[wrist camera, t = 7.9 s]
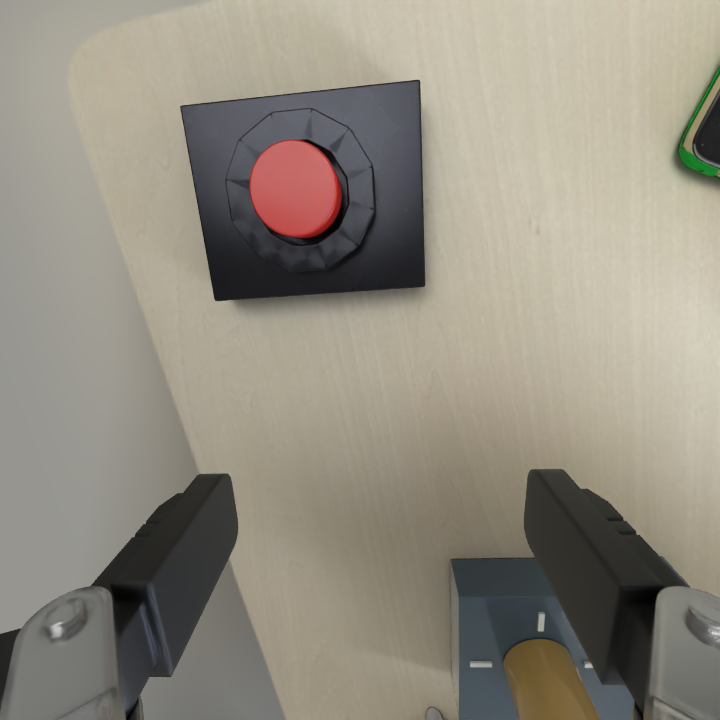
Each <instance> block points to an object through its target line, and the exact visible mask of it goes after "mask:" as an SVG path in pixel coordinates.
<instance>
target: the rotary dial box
mask: <svg viewBox="0 0 720 720" xmlns="http://www.w3.org/2000/svg"><path fill="white" fill-rule="evenodd" d="M659 557H660V558H661V559H662V560H663V561H664V562H665V563H666V564H667V565H668V566H669V567H670V568H671V569H672V570H673V572H674V573H675V574H676V575H677V576H678V577H679V578H680V579H681V580H682V581H683V582H684V583H685V584H686V585H687V586H688V587H690V586H689V585H688V584H687V583H686V581H685V580H684V579H683V578H682V577H681V576H680V575H679V574H678V573H677V572H676V571H675V570H674V568H673V567H672V566H671V565H670V564H669V563H668V562H667V561H666V560H665V559H664V558H663V557H662V556H659ZM690 588H691V587H690ZM531 639H548V640H552V641H555V642H557V643H560V644H561V645H563V646H564V647H565V648H566V649H567V650H568V651H569V652H570V654H571V656H572V658H573V660H574V662H575V664H576V666H577V668H578V670H579V673H580V675H581V677H582V679H583V681H584V683H585V685H586V687H587V689H588V692H589V694H590V696H591V698H592V700H593V702H594V704H595V706H596V709H597V711H598V713H599V715H600V717H601V719H602V720H631V713H632V708H633V703H634V699H633V697H632V695H631V693H630V692H629V690H628V688H627V686H626V685H602V684H601V682H600V680H599V678H598V676H597V674H596V672H595V670H594V668H593V666H592V664H591V663H590V661H589V659H588V657H587V655H586V653H585V651H584V649H583V647H582V645H581V644H580V642H579V640H578V638H577V636H576V634H575V632H574V630H573V628H572V626H571V625H570V623H569V621H568V619H567V617H566V615H565V613H564V611H563V609H562V607H561V605H560V604H559V602H558V600H557V598H556V596H555V594H554V592H553V590H552V588H551V586H550V585H549V583H548V581H547V579H546V577H545V575H544V573H543V571H542V569H541V567H540V565H539V564H538V562H537V560H536V558H519V559H453V560H451V675H452V681H453V687H454V693H455V699H456V705H457V711H458V717H459V720H518V718H517V714H516V711H515V707H514V704H513V701H512V697H511V694H510V690H509V687H508V683H507V680H506V677H505V673H504V670H503V661H504V658H505V656H506V654H507V653H508V651H509V650H510V649H511V648H512V647H514V646H515V645H517V644H519V643H521V642H523V641H527V640H531Z"/></svg>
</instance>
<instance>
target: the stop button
mask: <svg viewBox="0 0 720 720" xmlns="http://www.w3.org/2000/svg"><path fill="white" fill-rule="evenodd" d="M249 188H250V196H251V201H252V204H253V207H254V209H255V211H256V213H257V214H258V216H259V217H260V219H261V220H262V221H263V222H264V223H265V224H266V225H267V226H268V227H269V228H271V229H272V230H274V231H275V232H277V233H279V234H282V235H285V236H290V237H295V238H311V237H314V236H317V235H319V234H321V233H323V232H324V231H326V230H327V229H328V228H329V227H330V226H331V225H332V224H333V222H334V221H335V219H336V218H337V216H338V213H339V211H340V207H341V202H342V190H341V184H340V181H339V178H338V176H337V174H336V172H335V170H334V168H333V166H332V165H331V163H330V161H329V160H328V158H327V157H326V156H325V155H324V154H323V153H322V152H321V151H320V150H319V149H318V148H316V147H315V146H313V145H312V144H309V143H307V142H304V141H301V140H283V141H280V142H277V143H275V144H273V145H271V146H269V147H268V148H267V149H265V150H264V151H263V152H262V153H261V155H260V156H259V157H258V159H257V160H256V162H255V164H254V166H253V168H252V172H251V176H250V185H249Z"/></svg>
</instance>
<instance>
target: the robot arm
mask: <svg viewBox="0 0 720 720" xmlns="http://www.w3.org/2000/svg"><path fill="white" fill-rule="evenodd" d="M524 529H525V535H526V538H527V542H528V544H529V546H530V548H531V550H532V552H533V554H534V556H535V558H536V560H537V562H538V564H539V565H540V567H541V569H542V571H543V573H544V575H545V577H546V579H547V581H548V583H549V585H550V586H551V588H552V590H553V592H554V594H555V596H556V598H557V600H558V602H559V604H560V605H561V607H562V609H563V611H564V613H565V615H566V617H567V619H568V621H569V623H570V625H571V626H572V628H573V630H574V632H575V634H576V636H577V638H578V640H579V642H580V644H581V645H582V647H583V649H584V651H585V653H586V655H587V657H588V659H589V661H590V663H591V664H592V666H593V668H594V670H595V672H596V674H597V676H598V678H599V680H600V682H601V684H602V685H626V686H627V688H628V690H629V692H630V693H631V695H632V697H633V699H634V703H633V708H632V713H631V720H720V598H718V597H716V596H714V595H712V594H709V593H707V592H704V591H701V590H698V589H694V588H690V587H688V586H687V585H686V584H685V583H684V582H683V581H682V580H681V579H680V578H679V577H678V576H677V575H676V574H675V573H674V572H673V570H672V569H671V568H670V567H669V566H668V565H667V564H666V563H665V562H664V561H663V560H662V559H661V558H660V557H659V556H658V554H657V553H656V552H655V551H654V550H653V549H652V548H651V547H650V546H649V545H648V544H647V543H646V542H645V541H644V540H643V538H642V537H641V536H640V535H637V534H636V531H635V530H634V529H633V528H632V527H631V526H630V525H629V524H628V522H627V521H624V520H623V517H622V516H621V515H620V514H619V513H618V512H617V511H616V510H615V509H614V507H613V506H612V505H611V504H610V503H609V502H608V501H606V500H604V499H603V498H601V497H600V496H598V495H596V494H595V493H593V492H592V491H590V490H588V489H580V488H579V487H578V486H577V484H576V483H575V482H574V481H573V480H572V479H571V478H570V476H569V475H568V474H567V473H566V472H565V471H564V470H562V469H532V470H530V471H529V474H528V479H527V490H526V501H525V512H524ZM237 534H238V518H237V512H236V505H235V499H234V493H233V486H232V481H231V477H230V476H229V474H199V475H198V476H197V477H196V478H195V479H194V480H193V481H192V483H191V484H190V485H189V486H188V488H187V489H186V490H185V491H184V493H177V494H176V495H175V496H173V497H172V498H170V499H169V500H167V501H166V502H164V503H163V504H162V505H160V506H159V507H158V508H157V509H156V510H155V512H154V513H153V514H152V515H151V516H150V518H149V519H148V520H147V521H146V524H143V526H142V527H141V528H140V529H139V530H138V531H137V533H136V534H135V537H133V538H131V540H130V541H129V542H128V543H127V544H126V545H125V547H124V548H123V549H122V550H121V551H120V552H119V554H118V555H117V556H116V557H115V558H114V559H113V561H112V562H111V563H110V564H109V565H108V566H107V567H106V569H105V570H104V571H103V572H102V573H101V574H100V576H99V577H98V578H97V579H96V580H95V582H94V583H93V584H92V585H91V586H90V587H84V588H80V589H76V590H73V591H71V592H68V593H66V594H64V595H62V596H60V597H58V598H56V599H54V600H53V601H51V602H50V603H48V604H47V605H45V606H44V607H43V608H41V609H40V610H39V611H37V612H36V613H35V614H34V615H33V616H32V617H31V618H30V619H29V620H28V621H27V622H26V623H25V625H24V626H23V627H22V628H21V629H17V630H14V631H10V632H6V633H3V634H0V720H144V714H143V705H142V700H141V696H140V694H141V691H142V690H143V688H144V686H145V684H146V682H147V680H148V679H149V677H171V676H172V674H173V672H174V670H175V668H176V666H177V664H178V662H179V660H180V658H181V656H182V654H183V651H184V649H185V647H186V645H187V643H188V641H189V639H190V637H191V635H192V633H193V631H194V629H195V627H196V625H197V623H198V621H199V618H200V616H201V614H202V612H203V610H204V608H205V606H206V604H207V602H208V600H209V598H210V596H211V593H212V591H213V590H214V587H215V585H216V583H217V581H218V579H219V577H220V575H221V573H222V571H223V569H224V567H225V565H226V563H227V561H228V559H229V556H230V554H231V552H232V550H233V548H234V546H235V543H236V540H237Z"/></svg>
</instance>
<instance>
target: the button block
mask: <svg viewBox="0 0 720 720" xmlns="http://www.w3.org/2000/svg"><path fill="white" fill-rule="evenodd" d="M180 108H181V114H182V119H183V125H184V131H185V136H186V142H187V147H188V153H189V159H190V164H191V170H192V175H193V181H194V187H195V192H196V198H197V203H198V209H199V215H200V220H201V226H202V231H203V237H204V243H205V248H206V254H207V259H208V265H209V271H210V276H211V282H212V287H213V293H214V299H215V301H225V300H240V299H254V298H269V297H284V296H298V295H313V294H327V293H342V292H357V291H371V290H386V289H400V288H415V287H424V286H425V256H424V215H423V175H422V134H421V94H420V80H412V81H403V82H393V83H384V84H375V85H366V86H357V87H348V88H339V89H329V90H320V91H311V92H302V93H293V94H284V95H275V96H265V97H256V98H247V99H238V100H229V101H220V102H210V103H201V104H192V105H183V106H180ZM283 140H301V141H304V142H307V143H309V144H312V145H313V146H315V147H316V148H318V149H319V150H320V151H321V152H322V153H323V154H324V155H325V156H326V157H327V158H328V160H329V161H330V163H331V165H332V166H333V168H334V170H335V172H336V174H337V176H338V178H339V181H340V184H341V190H342V202H341V207H340V211H339V213H338V216H337V218H336V219H335V221H334V222H333V224H332V225H331V226H330V227H329V228H328V229H327V230H326V231H324V232H323V233H321V234H319V235H317V236H314V237H311V238H295V237H290V236H285V235H282V234H279V233H277V232H275V231H274V230H272V229H271V228H269V227H268V226H267V225H266V224H265V223H264V222H263V221H262V220H261V219H260V217H259V216H258V214H257V213H256V211H255V209H254V207H253V204H252V201H251V196H250V188H249V185H250V176H251V172H252V168H253V166H254V164H255V162H256V160H257V159H258V157H259V156H260V155H261V153H262V152H263V151H264V150H265V149H267V148H268V147H269V146H271V145H273V144H275V143H277V142H280V141H283Z"/></svg>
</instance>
